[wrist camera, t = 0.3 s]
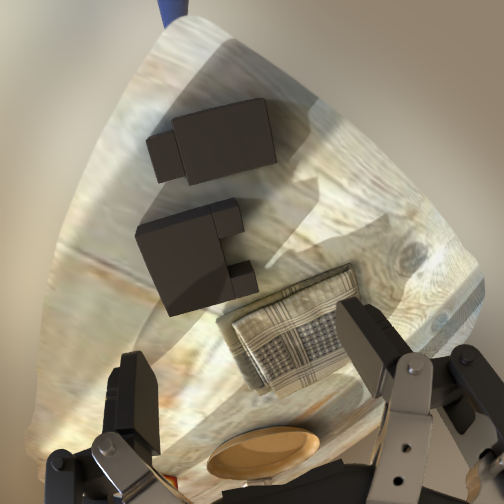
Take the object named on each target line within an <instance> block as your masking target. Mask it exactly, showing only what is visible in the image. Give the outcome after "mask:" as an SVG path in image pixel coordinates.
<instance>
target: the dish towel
mask: <svg viewBox="0 0 504 504" xmlns="http://www.w3.org/2000/svg"><path fill="white" fill-rule="evenodd" d="M352 296H356V297H357V298H358V300H359V301H360V302H361V298H360V294H359V289H358V284H357V280H356V276H355V271H354V268H353V266H352V265H351V264H349V263H348V264H346V265H344V266H343V267H339V268H337V269H334V270H331V271H328V272H325V273H323V274H321V275H318V276H315V277H313V278H310V279H308V280H306V281H303V282H300V283H298V284H296V285H293V286H291V287H289V288H286V289H284V290H282V291H279V292H277V293H275V294H273V295H270V296H268V297H265V298H263V299H261V300H259V301H256V302H254V303H251V304H249V305H246V306H244V307H242V308H240V309H237V310H235V311H233V312H231V313H229V314H226V315H223V316H221V317H219V318H217V319H216V324H217V326H218V328H219V331H220V333H221V335H222V337H223V339H224V341H225V342H226V344H227V346H228V348H229V351H230V352H231V354H232V356H233V358H234V359H235V362H236V364H237V366H238V368H239V370H240V372H241V374H242V377H243V379H244V381H245V383H246V385H247V386H248V388H249V389H250V390H251V391H252V390H255V389H256V391H257V392H258V394H259V396H262V395H264V394H266V393H268V392H270V391H272V390H274V392H275V393H276V394H277V397H278V398H279V399H282V398H284V397H285V396H288V395H290V394H291V393H293V392H296V391H298V390H300V389H302V388H304V387H306V386H308V385H310V384H312V383H314V382H316V381H318V380H320V379H321V378H323V377H326V376H328V375H330V374H332V373H333V372H335V371H337V370H339V369H340V368H342V367H344V366H346V365H347V364H349V363H351V362H352V361H351V360H350V358H349V356H348V355H347V353H346V351H345V350H344V348H343V346H342V345H341V343H340V341H339V339H338V337H337V333H336V303H337V301H339V300H342V299H345V298H349V297H352Z"/></svg>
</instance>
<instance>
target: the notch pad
mask: <svg viewBox="0 0 504 504" xmlns="http://www.w3.org/2000/svg"><path fill="white" fill-rule="evenodd" d="M244 231H245V230H244V226H243V222H242V218H241V213H240V209H239V206H238V204H237V202H236V200H235V198H231V199H227V200H224V201H220V202H216V203H213V204H210V205H206V206H202V207H199V208H196V209H192V210H189V211H185V212H182V213H178V214H175V215H172V216H168V217H165V218H162V219H159V220H155V221H152V222H149V223H146V224H143V225H139V226H138V227H137V230H136V233H135V239H136V241H137V244H138V246H139V249H140V251H141V254H142V256H143V259H144V261H145V263H146V266H147V268H148V270H149V273H150V275H151V277H152V280H153V282H154V284H155V286H156V289H157V291H158V293H159V295H160V297H161V300H162V302H163V304H164V306H165V308H166V310H167V312H168V315H169V317H172V316H176V315H180V314H183V313H187V312H191V311H194V310H198V309H202V308H205V307H209V306H212V305H216V304H220V303H223V302H227V301H230V300H234V299H236V298H241V297H244V296H248V295H251V294H254V293H258V292H259V289H258V285H257V281H256V277H255V273H254V270H253V268H252V265H251V263H250V261H249V260H248V261H244V262H241V263H237V264H234V265H230V266H227V264H226V261H225V257H224V254H223V250H222V247H221V243H220V240H219V239H220V238H224V237H227V236H231V235H234V234H238V233H241V232H244Z"/></svg>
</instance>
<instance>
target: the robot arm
mask: <svg viewBox="0 0 504 504" xmlns="http://www.w3.org/2000/svg"><path fill="white" fill-rule="evenodd" d="M336 333H337V337H338V339H339V341H340V343H341V345H342V346H343V348H344V350H345V351H346V353H347V355H348V356H349V358H350V360H351V361H352V363H353V365H354V366H355V368H356V370H357V371H358V373H359V375H360V376H361V378H362V380H363V382H364V383H365V385H366V387H367V388H368V390H369V392H370V393H371V395H372V397H373V399H376V398H378V397H381V396H383V398H384V399H385V401H386V402H385V405H384V410H383V414H382V419H381V423H380V427H379V431H378V435H377V439H376V443H375V446H374V449H373V452H372V455H371V458H370V461H369V464H368V465H366V464H357V463H354V464H344V463H343V461H342V459H339V460H336V461H334V462H331V463H328V464H325V465H322V466H319V467H316V468H313V469H311V470H310V471H308V472H306V473H305V474H303V475H301V476H299V477H298V478H296V479H294V480H292V481H290V482H289V483H286V484H283V485H251V486H246V487H241V488H236V489H231V490H225V491H222V495H223V497H222V498H220V499H218V500H216V501H214V502H213V503H211V504H504V383H503V381H502V380H501V379H500V377H499V376H498V375H497V374H496V372H495V371H494V369H493V368H492V367H491V366H490V364H489V363H488V362H487V361H486V359H485V358H484V357H483V355H482V354H481V353H480V352H479V351H478V349H476V348H475V347H473V346H471V345H467V344H466V345H465V344H462V345H459V346H457V347H455V348H454V349H453V351H452V353H451V355H450V356H446V357H440V358H434V359H429V358H428V357H427V356H425V355H423V354H421V353H416V352H413V351H412V350H411V349H410V347H409V346H408V345H407V344H406V342H405V341H404V340H403V338H402V337H401V336H400V335H399V333H398V332H397V331H396V330H395V328H394V327H392V325H391V323H390V322H389V321H388V320H387V319H386V317H385V316H384V315H383V314H382V312H381V311H380V310H379V309H377V308H375V307H374V306H372V305H370V304H367V305H364V306H363V305H362V303H361V302H360V301H359V300H358V298H357V297H356V296H352V297H349V298H345V299H342V300H339V301H337V303H336ZM433 408H436V409H437V411H438V413H439V414H440V416H441V418H442V419H443V421H444V423H445V425H446V426H447V428H448V430H449V431H450V433H451V435H452V437H453V439H454V440H455V442H456V444H457V446H458V448H459V449H460V451H461V453H462V455H463V457H464V459H465V461H466V462H467V464H468V466H469V468H470V470H469V472H468V473H467V476H466V486H467V489H468V497H467V500H466V501H465V500H462V499H459V498H456V497H452V496H449V495H446V494H443V493H440V492H437V491H434V490H432V489H429V488H426V487H424V486H422V483H423V478H424V473H425V468H426V463H427V457H428V452H429V445H430V439H431V431H432V424H433V416H432V415H430V409H433ZM159 455H161V453H160V435H159V409H158V383H157V379H156V376H155V374H154V372H153V371H152V369H151V367H150V365H149V364H148V362H147V360H146V359H145V357H144V355H143V353H142V352H141V351H134V352H129V353H124V354H122V356H121V363H120V367H118V368H114V369H113V371H112V373H111V374H110V376H109V378H108V384H107V392H106V400H105V409H104V419H103V430H102V434H100V435H99V436H98V437H97V438H96V439H95V440H94V442H93V444H92V447H91V448H89V449H86V450H84V451H81V452H78V453H75V454H71V453H70V452H69V451H67V450H65V449H58V450H55V451H54V452H52V453H51V454H50V456H49V457H48V459H47V462H46V474H45V499H44V504H114V497H113V494H115V493H118V492H120V494H121V495H122V497H123V498H122V502H123V503H124V504H194V503H193V502H191V501H190V500H189V499H188V498H186V497H185V496H184V495H183V494H182V493H181V492H179V491H178V490H177V489H176V488H175V487H174V486H173V485H172V484H171V483H170V482H169V481H168V480H167V479H166V478H165V477H164V476H163V475H162V474H161V473H160V472H159V471H158V470H157V469H156V468H155V467H154V466H153V465H152V456H159Z"/></svg>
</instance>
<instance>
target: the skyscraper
mask: <svg viewBox="0 0 504 504" xmlns="http://www.w3.org/2000/svg"><path fill="white" fill-rule="evenodd" d="M271 479H272V478H265V479H254V480H247V481H246V482H245V483H244V484H243V485H242V486H241V487H246V486H251V485H272V484H271ZM241 487H240V488H241Z"/></svg>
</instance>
